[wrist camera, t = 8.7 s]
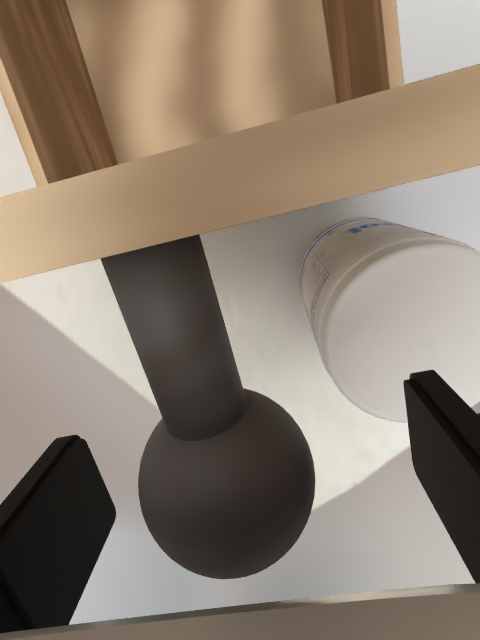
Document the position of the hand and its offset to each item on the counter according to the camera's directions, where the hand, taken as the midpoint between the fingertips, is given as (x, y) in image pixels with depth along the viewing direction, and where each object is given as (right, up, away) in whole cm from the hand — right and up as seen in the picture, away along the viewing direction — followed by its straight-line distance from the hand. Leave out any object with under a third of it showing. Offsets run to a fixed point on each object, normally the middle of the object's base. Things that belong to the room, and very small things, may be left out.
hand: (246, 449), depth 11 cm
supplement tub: (+9, +7, +21) cm, 24 cm away
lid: (-2, +8, 0) cm, 8 cm away
